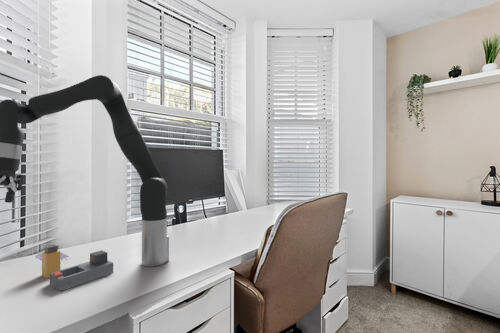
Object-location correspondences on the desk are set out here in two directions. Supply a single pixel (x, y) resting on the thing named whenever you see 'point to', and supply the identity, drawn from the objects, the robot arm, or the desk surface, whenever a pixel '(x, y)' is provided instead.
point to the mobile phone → (62, 256)
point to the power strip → (82, 271)
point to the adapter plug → (50, 260)
